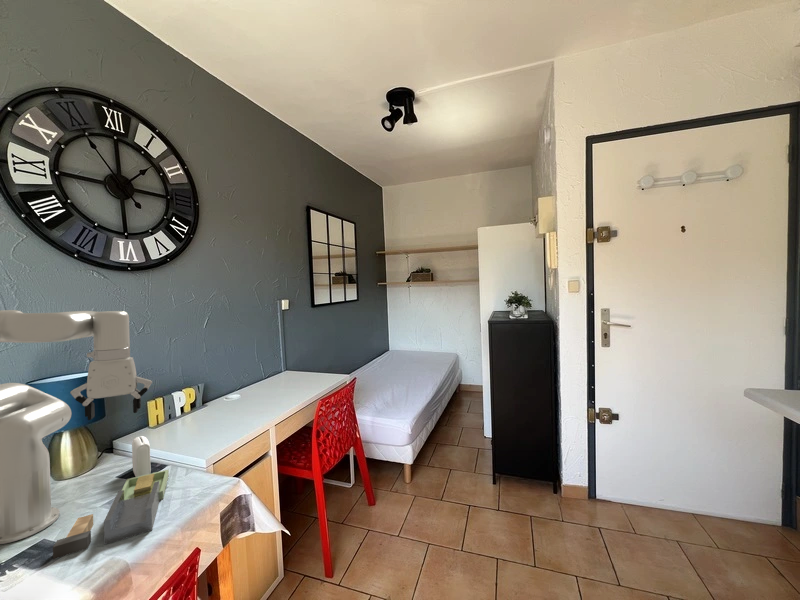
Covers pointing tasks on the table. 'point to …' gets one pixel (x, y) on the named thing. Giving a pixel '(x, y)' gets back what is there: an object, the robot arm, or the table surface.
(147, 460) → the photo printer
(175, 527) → the table surface
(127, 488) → the chip tray
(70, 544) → the t-shaped hammer
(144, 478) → the yellow cube
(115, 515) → the channel
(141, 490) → the yellow wooden cube
